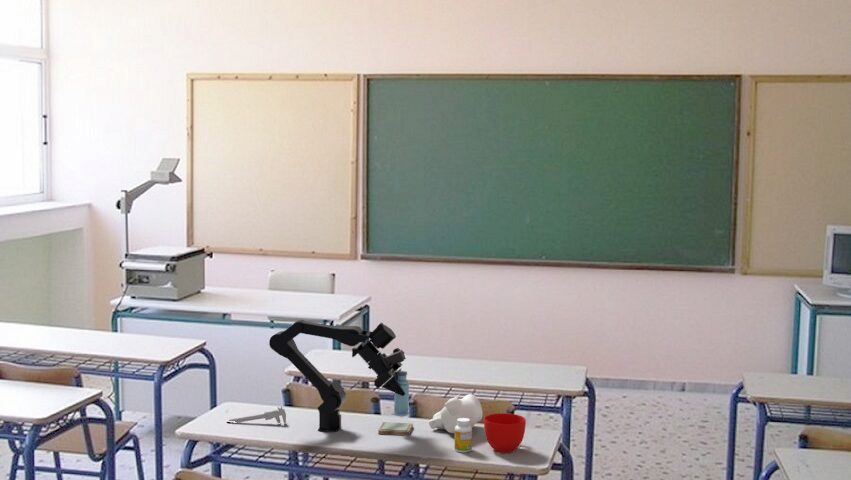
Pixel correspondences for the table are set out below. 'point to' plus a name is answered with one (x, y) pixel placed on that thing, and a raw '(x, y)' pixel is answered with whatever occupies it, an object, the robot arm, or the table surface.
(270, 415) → the caliper
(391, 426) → the picture frame
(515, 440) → the ceramic cup
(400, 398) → the water bottle
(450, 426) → the fox head
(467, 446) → the supplement bottle
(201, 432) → the table surface
